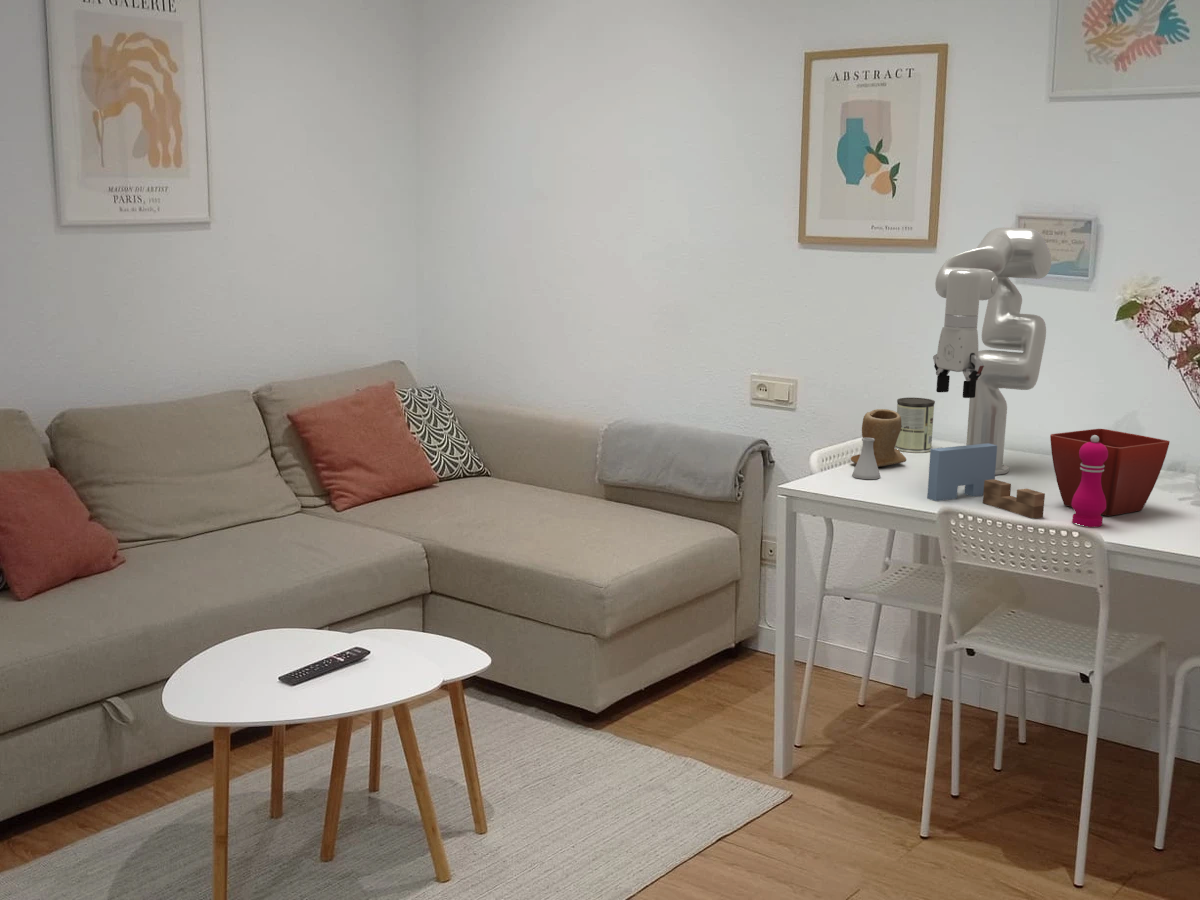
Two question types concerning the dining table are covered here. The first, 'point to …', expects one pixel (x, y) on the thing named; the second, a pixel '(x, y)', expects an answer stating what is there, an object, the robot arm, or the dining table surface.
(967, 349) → the robot arm
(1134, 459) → the plant pot
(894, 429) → the stone cup
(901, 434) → the coffee can
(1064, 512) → the dining table surface
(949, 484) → the blue notched block
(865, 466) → the flask
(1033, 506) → the walnut u-shaped block
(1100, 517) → the pepper mill
